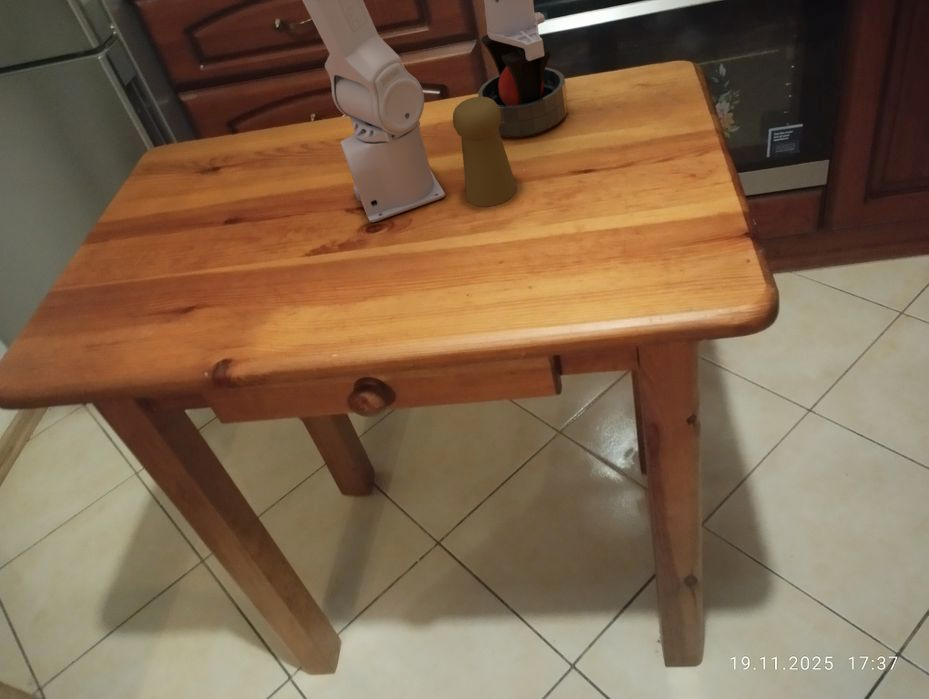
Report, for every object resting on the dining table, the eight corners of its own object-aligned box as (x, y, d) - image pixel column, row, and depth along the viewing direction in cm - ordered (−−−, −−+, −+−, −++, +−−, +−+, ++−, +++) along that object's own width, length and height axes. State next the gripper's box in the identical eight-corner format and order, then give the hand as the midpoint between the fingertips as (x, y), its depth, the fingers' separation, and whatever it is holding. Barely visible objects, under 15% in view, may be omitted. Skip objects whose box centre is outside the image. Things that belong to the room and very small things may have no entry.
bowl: (501, 149, 86) (495, 116, 82) (473, 116, 94) (466, 85, 90) (582, 121, 87) (579, 87, 83) (547, 90, 95) (543, 58, 91)
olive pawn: (457, 190, 81) (437, 103, 73) (502, 171, 82) (486, 83, 74) (479, 213, 76) (459, 122, 69) (526, 192, 77) (511, 101, 70)
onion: (496, 113, 91) (486, 54, 86) (535, 99, 92) (527, 39, 87) (513, 129, 87) (503, 68, 82) (554, 114, 88) (546, 52, 82)
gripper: (563, -11, 74) (574, 107, 83) (515, -39, 84) (529, 68, 93) (503, 9, 73) (521, 125, 82) (462, -22, 83) (482, 84, 93)
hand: (522, 96), depth 88 cm, fingers closed on onion, 6 cm apart
